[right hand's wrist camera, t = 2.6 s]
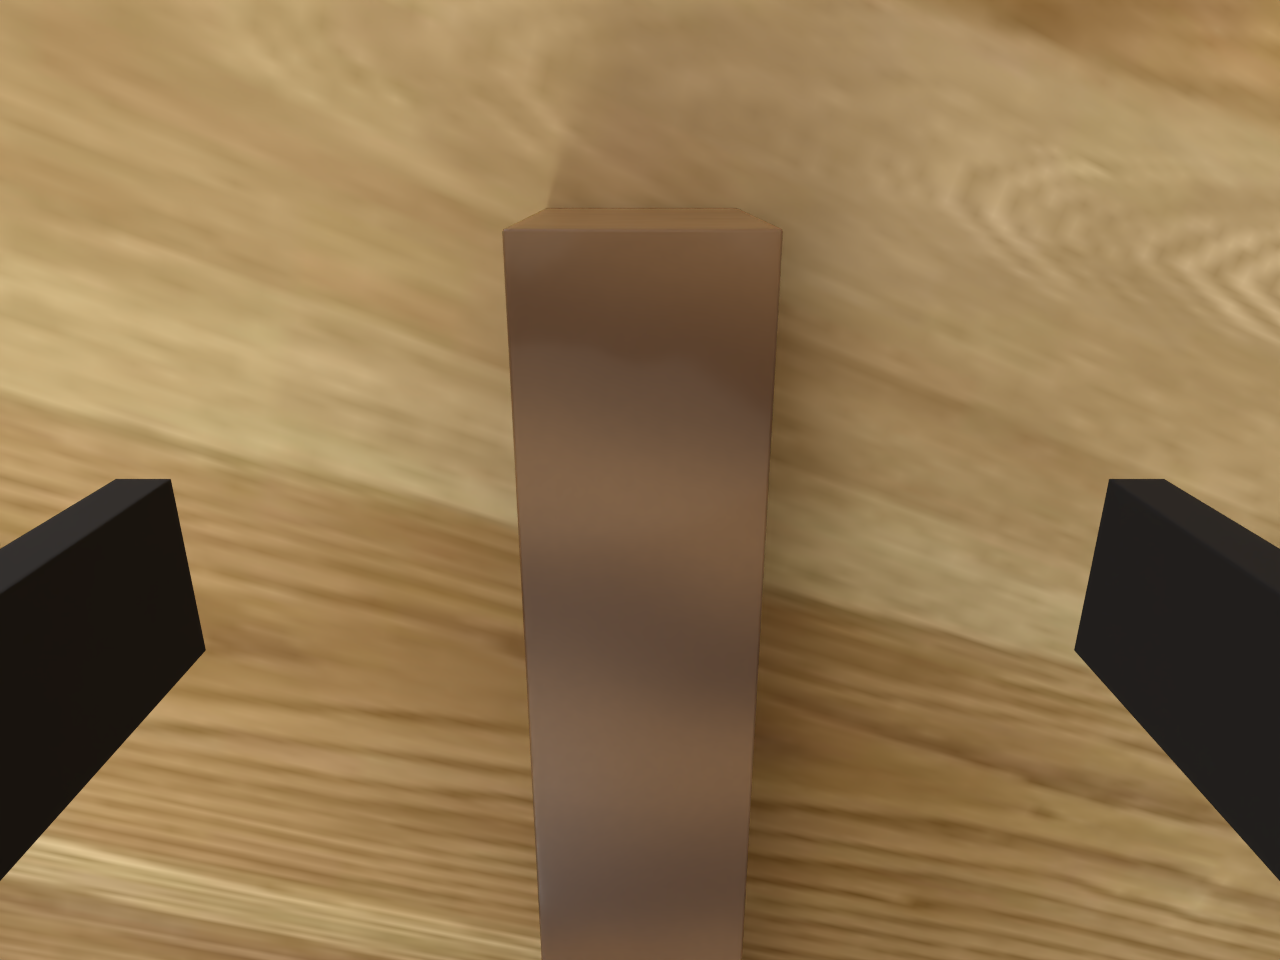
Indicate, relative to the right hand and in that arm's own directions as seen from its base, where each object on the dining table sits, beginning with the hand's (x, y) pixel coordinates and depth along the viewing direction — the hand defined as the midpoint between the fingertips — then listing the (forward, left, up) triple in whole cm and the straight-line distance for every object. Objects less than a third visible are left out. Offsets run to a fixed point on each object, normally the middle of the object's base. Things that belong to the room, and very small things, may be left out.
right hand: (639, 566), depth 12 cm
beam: (-13, +22, -14) cm, 29 cm away
